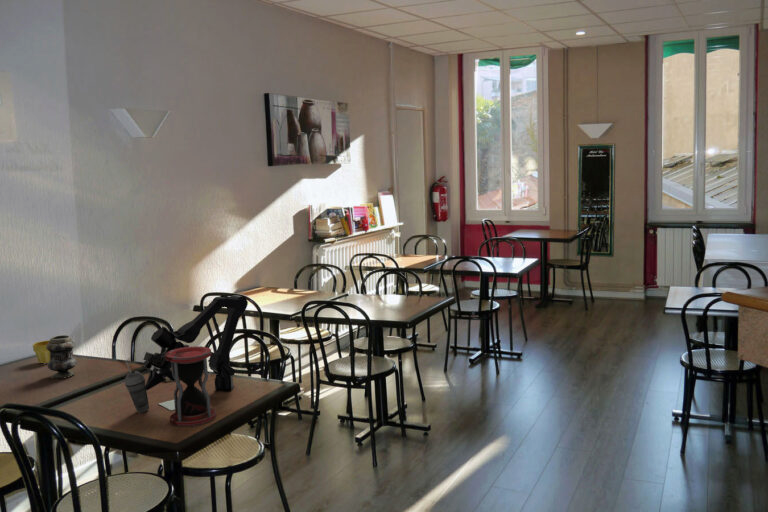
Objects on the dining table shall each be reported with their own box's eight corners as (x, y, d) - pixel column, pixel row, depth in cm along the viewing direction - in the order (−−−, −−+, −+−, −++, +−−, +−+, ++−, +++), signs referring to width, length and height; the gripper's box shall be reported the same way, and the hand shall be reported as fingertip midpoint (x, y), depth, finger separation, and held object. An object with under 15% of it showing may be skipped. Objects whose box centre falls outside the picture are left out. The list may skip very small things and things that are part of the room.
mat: (184, 397, 285) (184, 396, 285) (197, 403, 276) (197, 402, 276) (158, 404, 277) (158, 403, 277) (171, 410, 269) (171, 410, 269)
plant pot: (29, 365, 342) (27, 345, 341) (43, 359, 352) (41, 340, 351) (49, 365, 340) (47, 345, 339) (62, 359, 351) (60, 340, 349)
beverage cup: (147, 413, 266) (132, 364, 261) (129, 415, 268) (115, 366, 263) (156, 404, 273) (142, 356, 268) (139, 406, 274) (125, 358, 270)
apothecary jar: (83, 374, 324) (79, 335, 321) (59, 381, 314) (55, 341, 311) (67, 370, 330) (63, 332, 328) (43, 377, 320) (39, 338, 318)
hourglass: (189, 409, 270) (184, 344, 267) (224, 413, 264) (220, 347, 261) (160, 424, 255) (155, 356, 252) (197, 429, 249) (192, 359, 246)
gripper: (145, 339, 279) (119, 373, 273) (167, 347, 265) (140, 383, 259) (166, 355, 285) (141, 388, 279) (188, 364, 271) (162, 399, 265)
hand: (145, 389), depth 270 cm, fingers closed
